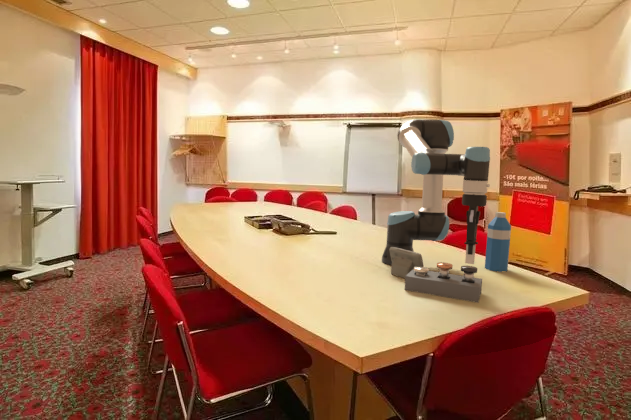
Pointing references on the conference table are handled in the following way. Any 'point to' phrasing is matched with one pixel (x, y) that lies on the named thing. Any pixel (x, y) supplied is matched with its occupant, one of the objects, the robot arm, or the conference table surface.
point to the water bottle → (498, 243)
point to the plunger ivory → (421, 270)
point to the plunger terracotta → (444, 270)
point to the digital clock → (404, 261)
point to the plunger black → (468, 273)
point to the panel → (444, 286)
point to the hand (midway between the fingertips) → (469, 263)
